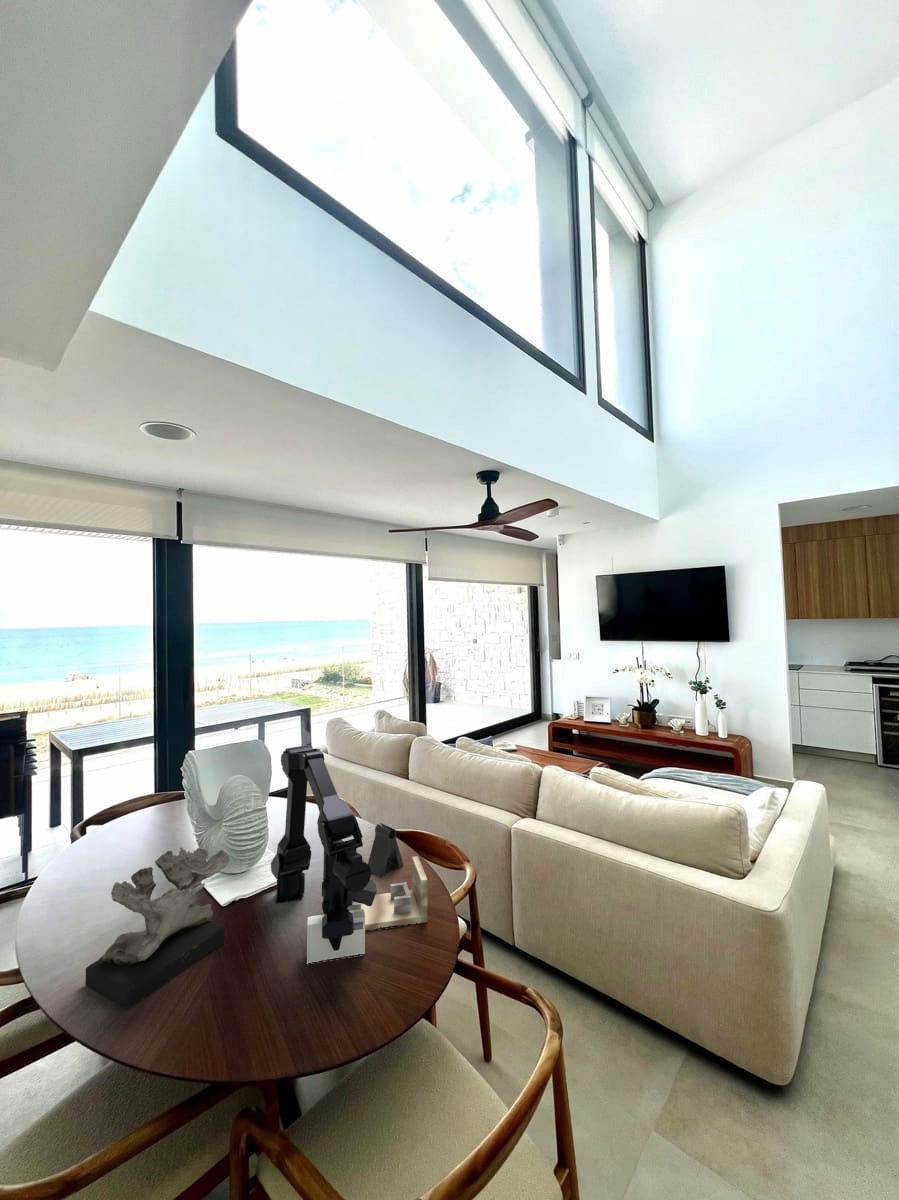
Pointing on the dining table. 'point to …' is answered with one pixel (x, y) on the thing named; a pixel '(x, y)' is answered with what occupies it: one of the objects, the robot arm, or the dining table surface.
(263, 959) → the dining table surface
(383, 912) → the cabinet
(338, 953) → the door
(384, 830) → the door stopper
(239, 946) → the dining table surface
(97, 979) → the coral
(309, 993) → the dining table surface
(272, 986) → the dining table surface
